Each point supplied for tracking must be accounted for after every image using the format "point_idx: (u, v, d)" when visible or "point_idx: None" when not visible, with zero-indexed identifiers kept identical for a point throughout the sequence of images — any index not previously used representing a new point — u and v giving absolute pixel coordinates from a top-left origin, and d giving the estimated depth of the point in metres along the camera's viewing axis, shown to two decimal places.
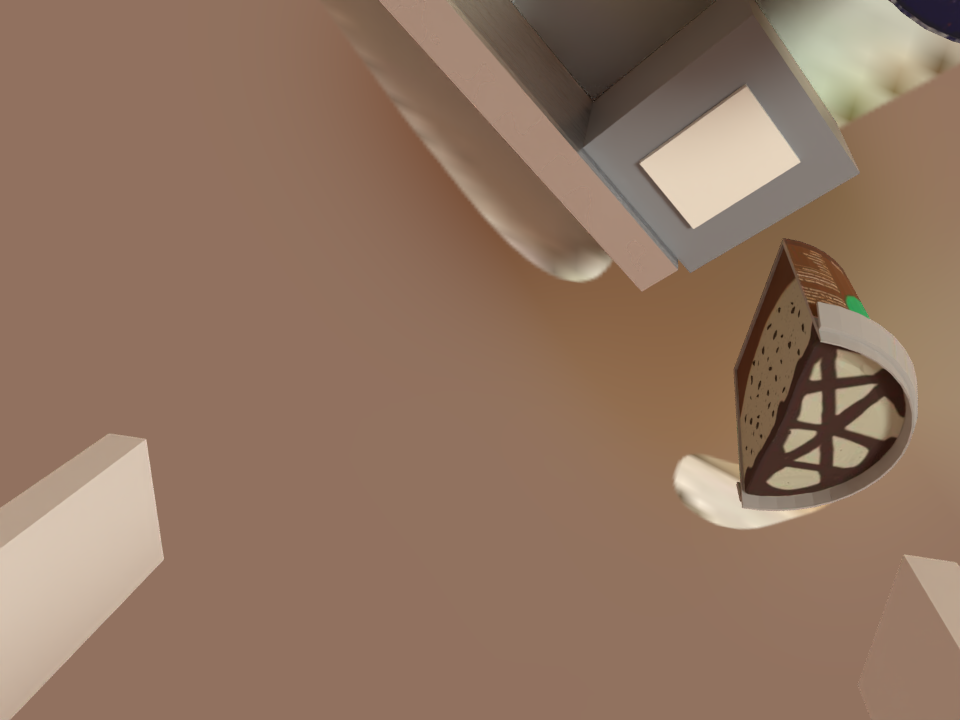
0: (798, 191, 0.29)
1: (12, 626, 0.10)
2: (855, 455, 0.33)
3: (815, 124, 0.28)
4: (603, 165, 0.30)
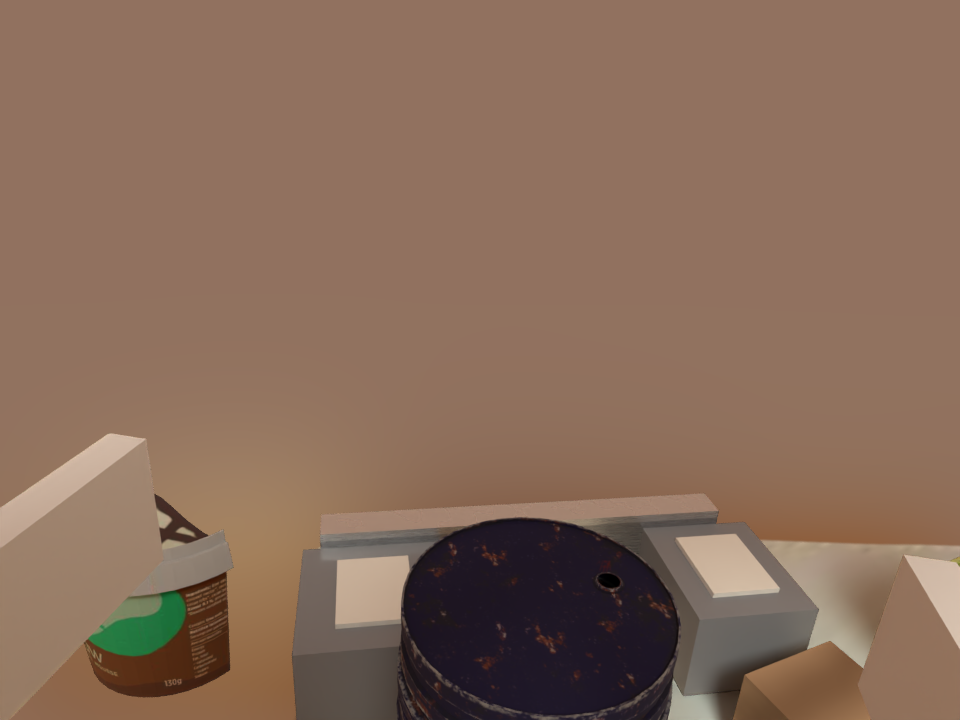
0: (310, 620, 0.35)
1: (12, 626, 0.10)
2: None
3: (353, 644, 0.34)
4: (420, 544, 0.42)
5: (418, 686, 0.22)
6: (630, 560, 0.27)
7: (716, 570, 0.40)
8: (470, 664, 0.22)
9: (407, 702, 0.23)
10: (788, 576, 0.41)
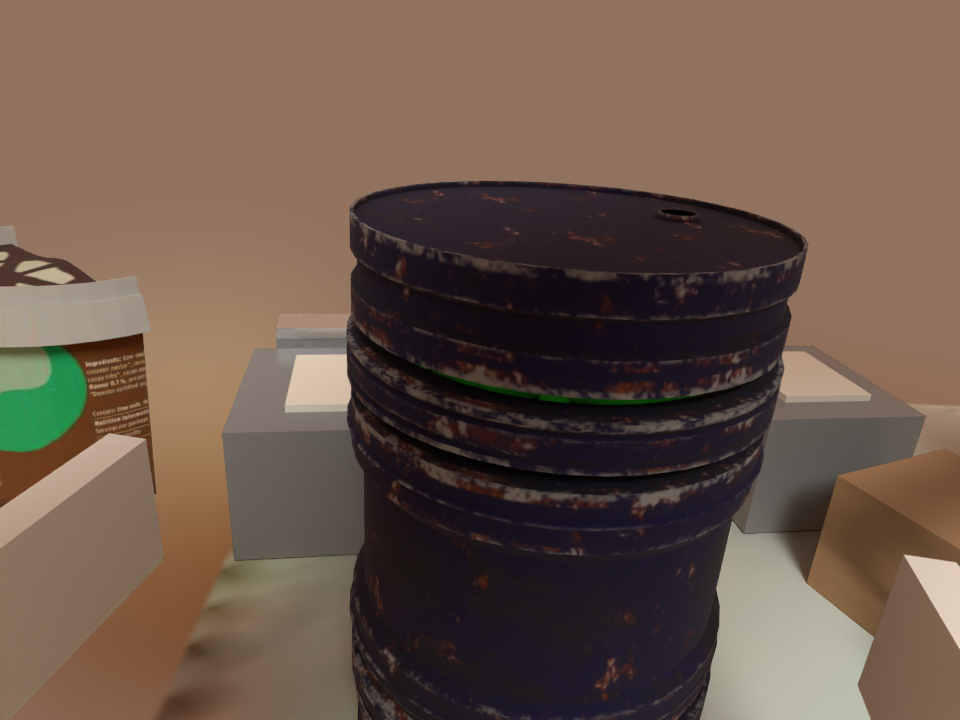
0: (252, 404, 0.27)
1: (12, 625, 0.10)
2: None
3: (307, 426, 0.25)
4: None
5: (372, 303, 0.13)
6: (706, 210, 0.18)
7: (786, 378, 0.31)
8: (459, 244, 0.13)
9: (356, 351, 0.14)
10: (878, 388, 0.31)
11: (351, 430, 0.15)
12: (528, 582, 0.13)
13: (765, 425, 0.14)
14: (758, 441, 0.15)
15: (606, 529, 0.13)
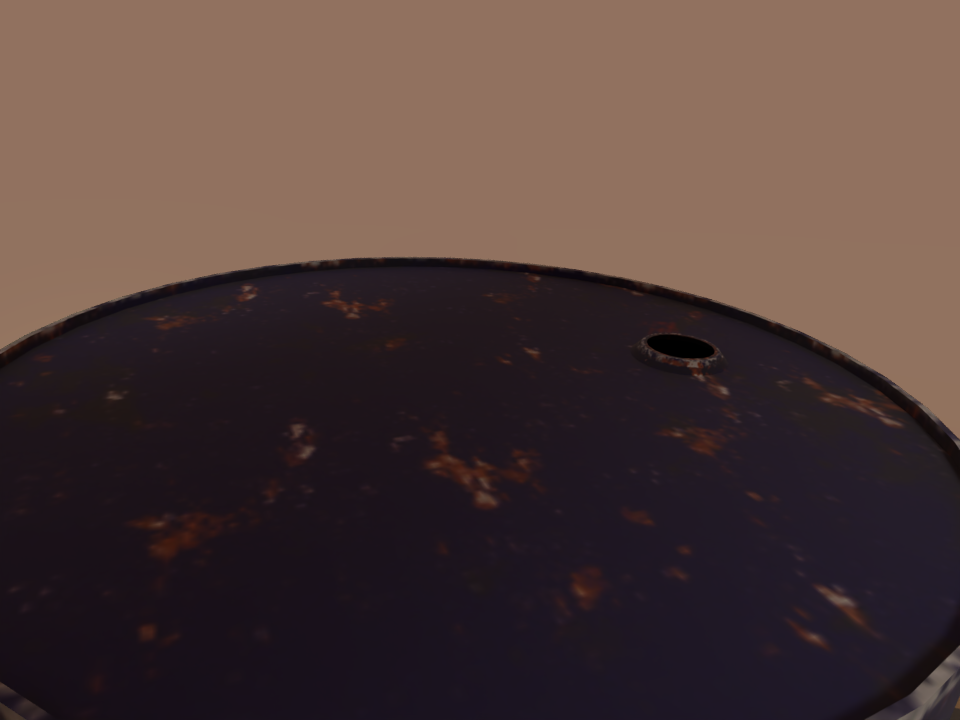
0: None
1: None
2: None
3: None
4: None
5: None
6: (729, 323, 0.10)
7: None
8: (100, 539, 0.05)
9: None
10: None
11: None
12: None
13: None
14: None
15: None
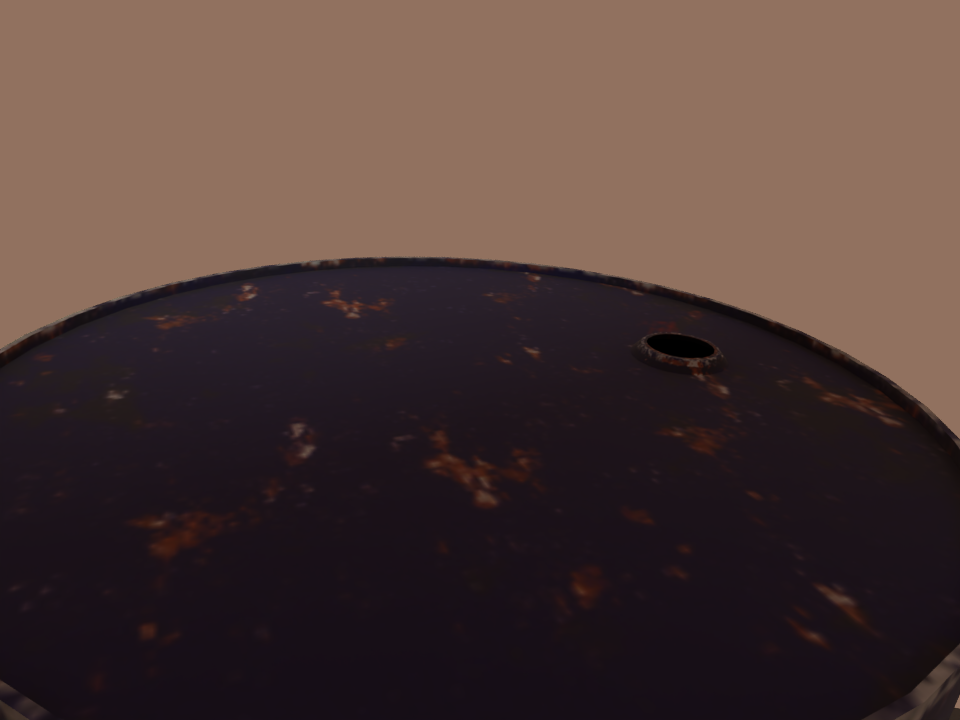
0: None
1: None
2: None
3: None
4: None
5: None
6: (729, 323, 0.10)
7: None
8: (101, 538, 0.05)
9: None
10: None
11: None
12: None
13: None
14: None
15: None
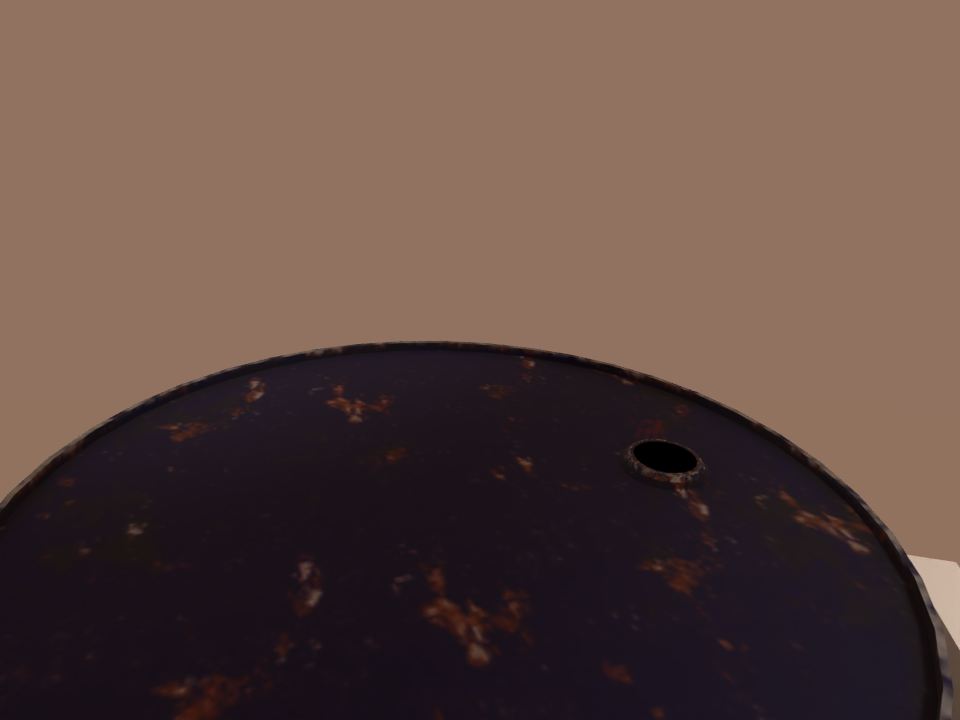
0: None
1: None
2: None
3: None
4: None
5: None
6: (713, 420, 0.10)
7: None
8: (130, 709, 0.05)
9: None
10: None
11: None
12: None
13: None
14: None
15: None
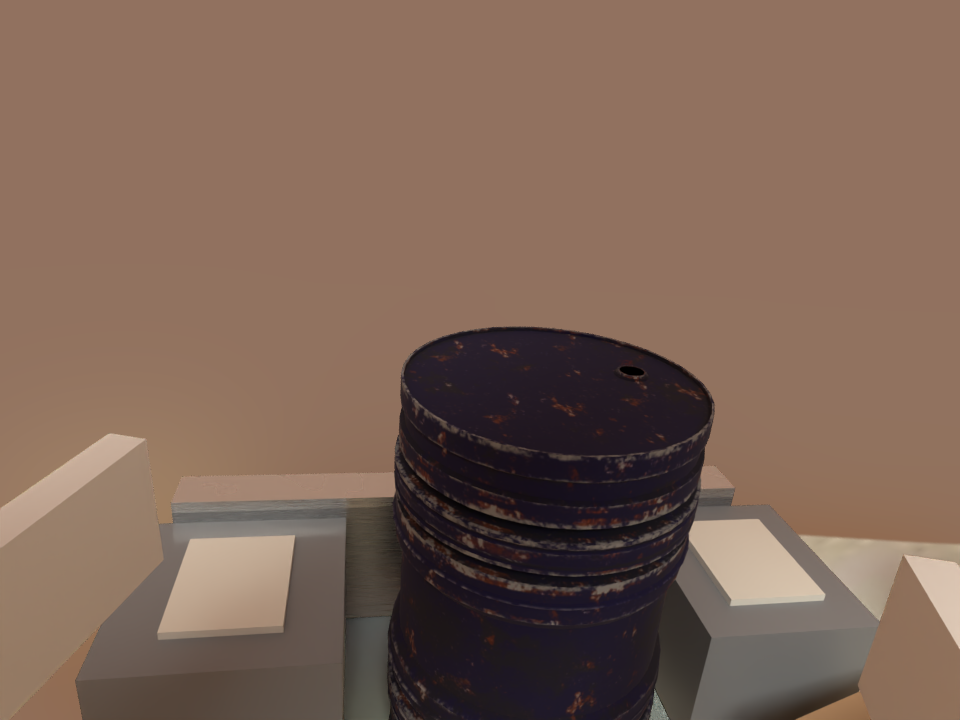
0: (123, 626, 0.23)
1: (12, 626, 0.10)
2: None
3: (178, 665, 0.22)
4: (317, 521, 0.30)
5: (419, 451, 0.20)
6: (654, 361, 0.24)
7: (734, 567, 0.28)
8: (479, 419, 0.19)
9: (405, 479, 0.21)
10: (835, 578, 0.29)
11: (397, 527, 0.22)
12: (522, 641, 0.20)
13: (685, 534, 0.20)
14: (681, 542, 0.21)
15: (573, 608, 0.19)
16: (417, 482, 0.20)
